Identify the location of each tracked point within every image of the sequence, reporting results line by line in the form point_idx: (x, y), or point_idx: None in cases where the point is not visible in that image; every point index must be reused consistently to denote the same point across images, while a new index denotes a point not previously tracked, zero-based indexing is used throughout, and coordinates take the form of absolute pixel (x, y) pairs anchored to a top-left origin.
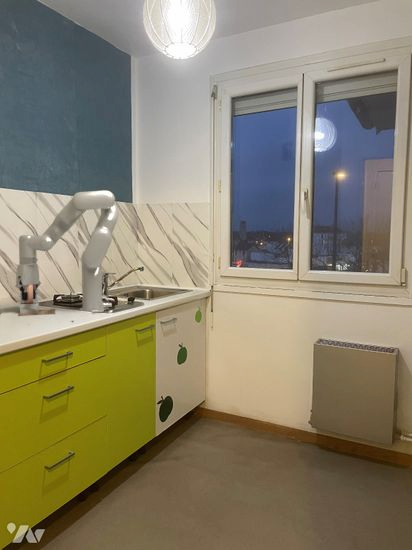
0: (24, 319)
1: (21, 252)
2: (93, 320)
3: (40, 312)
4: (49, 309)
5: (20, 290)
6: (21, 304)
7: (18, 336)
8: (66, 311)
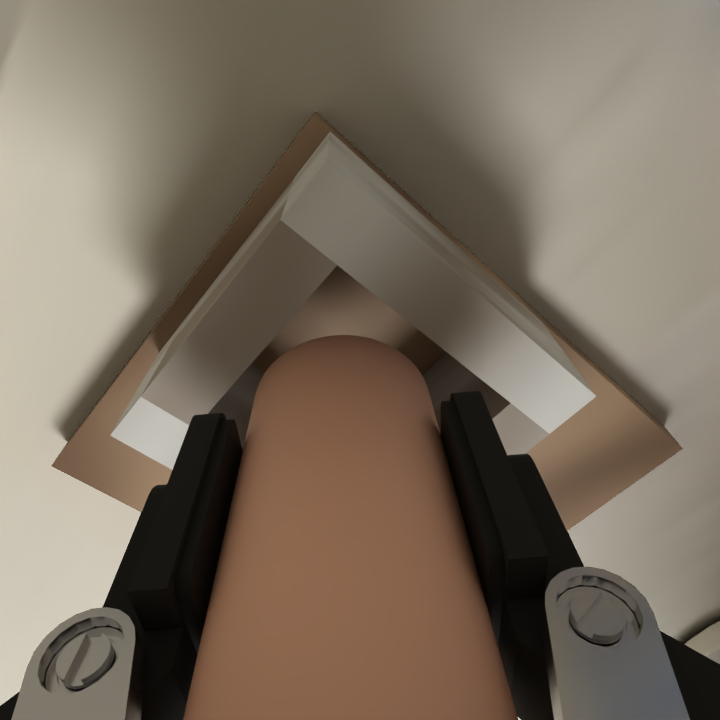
0: (105, 523)
1: None
2: None
3: None
4: (610, 426)
5: (7, 709)
6: (168, 408)
7: None
8: (693, 523)
